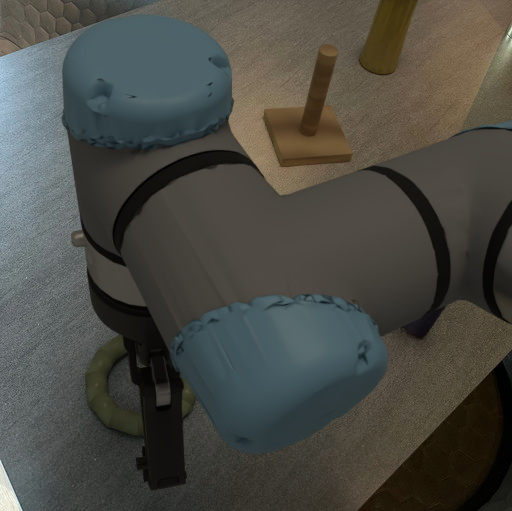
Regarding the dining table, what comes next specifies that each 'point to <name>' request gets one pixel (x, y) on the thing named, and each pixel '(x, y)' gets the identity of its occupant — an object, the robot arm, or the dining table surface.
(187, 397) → the ring
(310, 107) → the post
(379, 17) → the vase
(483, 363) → the dining table surface
